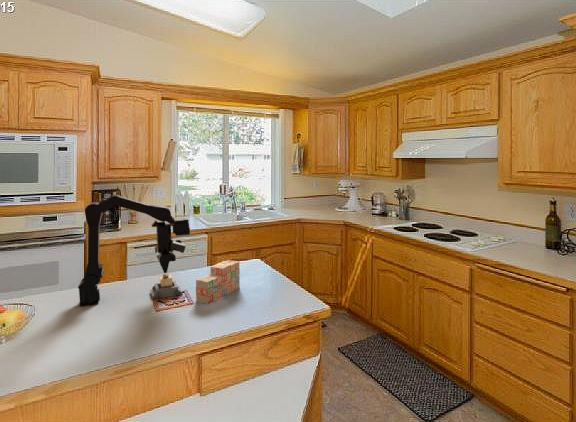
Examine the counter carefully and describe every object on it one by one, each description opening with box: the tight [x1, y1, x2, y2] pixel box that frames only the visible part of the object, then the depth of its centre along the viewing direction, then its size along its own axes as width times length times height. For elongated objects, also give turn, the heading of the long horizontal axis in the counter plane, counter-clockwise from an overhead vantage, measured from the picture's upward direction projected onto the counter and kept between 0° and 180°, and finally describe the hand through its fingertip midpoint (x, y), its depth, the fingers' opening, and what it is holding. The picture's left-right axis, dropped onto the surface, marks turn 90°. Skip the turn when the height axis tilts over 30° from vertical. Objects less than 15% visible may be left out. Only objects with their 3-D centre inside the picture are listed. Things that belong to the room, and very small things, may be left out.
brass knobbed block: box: [159, 273, 173, 288], centre depth 155 cm, size 4×4×7 cm
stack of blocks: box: [195, 259, 241, 305], centre depth 154 cm, size 21×6×12 cm, turn 151°
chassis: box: [150, 280, 183, 300], centre depth 155 cm, size 12×10×4 cm
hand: (165, 272), depth 154 cm, fingers closed
